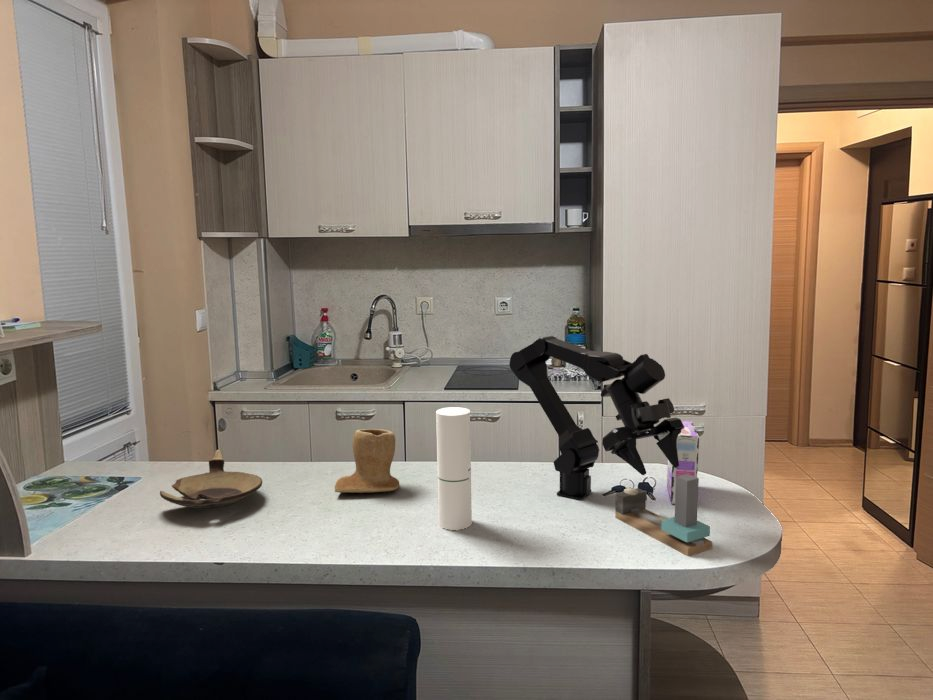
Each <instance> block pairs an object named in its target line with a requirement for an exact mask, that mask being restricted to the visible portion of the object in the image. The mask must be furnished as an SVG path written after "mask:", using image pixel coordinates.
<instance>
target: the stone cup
mask: <svg viewBox="0 0 933 700" xmlns="http://www.w3.org/2000/svg"><path fill="white" fill-rule="evenodd" d="M351 442H352V444H351V445H352V446H351V447H352V453H353V458H354V462H355V471H354V473H352V474H351V475H345V476H341V477H340V478H338V479H337V480H336V482H335V485H334V492H335V493H340V494H341V493H343V494H346V493H350V494H355V493H360V494H364V493H381V492H382V493H385V492H392V491H395V490H398V488H399V486H400V480H399V479H398V478H396V477H394V476H392V475H391V466H392V462H393V460H394V457H395V453H396V435H395V433H394V432H393V431H391V430H387V429H380V428H363V429H357V430H355V431H354V433H353V436H352V441H351Z"/></svg>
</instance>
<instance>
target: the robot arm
mask: <svg viewBox="0 0 933 700" xmlns="http://www.w3.org/2000/svg"><path fill="white" fill-rule="evenodd" d="M551 358H553V359H556V360H559V361H561V362H564V363H567V364H570V365H572V366H575V367H576V368H577V367H578V368H579V369H581V370H583V372H584V373H585V374H586V376H588V377H589V378H591V379H593V380H595V381H596V382H598V383H602V382H603V383H604V382H608V381H611V380H613V381H612V382H611V383H609V384H603V388H602V391H601V393H600V397H602V398H605V397H606V398H607V397H610V399H611V401H612V403H613V406H614V407H615V409H616V412H617V414H616V415H615V416H614V417H615V419H616V421H618V422H619V421H621V422H622V424H623V426H620V427H614V428H612V430H611V431H609V432H608V433H607V434H606V435H604V436H603V437H602V443H601V445H602V447H603V448H604V451H605V452H610V453H611V454H612V455H615V456H617V457H619V458H620V459H621V460H623V461H625V463H627V464H628V465H629V466H631V467H632V468H633V469H635V471H637V473H639V474H640V475H642V476H645V475H646V474H647V471H646V470H647V469H646V467H645V464H644V462H643V459H642V458H641V456H640V454H639V452H638V449H637V440H639V439H645V438H651V437H653V438H654V439H655V440H656V441H658V442H656V445H657V446H658V448H659V450H660V451H661V452H662V454H663V455H664V456H665V457H666V459H667V461H668V460H669V462H670V463H671V464H672V465H673V466H674V467H675V468H677V467H678V466H679V461H678V453H677V437H678V435H679V434H680V433H681V430H682V429H683V428H684V425H683V423H682V421H683V420H681V418H679V417H671V414H674V412H675V406H674V404H673V402H672V401H671V399H670V398H669V397H668V398H663V399H658V401H657V404H650V403H649V402H648V401H643V399H642V398H641V396H640V394H642V395H645V394H646V393H648V392H649V391H650V390H652V389H653V388H654V387H655V386H657V385H658V384H660V383H661V382H662V381H664V379H665V378H666V373H665V369H664V368H663V366H662V364H660V363H659V362H658V361H657V360H655V359H654V358H652V357H651V358H650V356H649V354H647V353H644V354H643V353H642V354H640V355H639V356H638V357H637V358H636V360H634V361H633V362H631V361H628V360H626V359H624V357H623V356H622V355H621V354H620V353H617V352H611V351H610V352H609V351H597V350H590V349H587V348H584V347H581V346H580V345H576V344H573V343H570V342H568V341H565V340H562V339H558V338H557V337H555V336H554V335H549V336H543V337H539V338H537V339H536V340H534V342H532V343H531V344H529V345H527V346H525V347H524V348H522V349H520V350H519V351H515V352H513V353H512V354H511V356H510V359H509V364H508V365H509V368H510V370H511V372H512V374H514V375H515V376H516V378H517V379H518V380H519V381H520V382H521V383H523V384H525V385H526V386H527V387H529V388H530V389H531V392H532V393H533V395H534V397H535V398H536V399H537V401H538V403H539V405H540V407H541V409H542V410H543V412H544V413H545V415H546V417H547V418H548V420H549V421H550V424H551V425H552V427H553V429H554V431H555V432H556V434H557V437H558V449H559V451H560V453H561V454H560V455H558V457H557V458H556V459H555V460H554V461H553V467H554V470H555V471H556V472H559V490H558V491H557V492H556V496H561V497H566V498H571V499H575V500H583V499H585V498H586V497H587V496H588V495H589V494H591V493H592V489H591V488H592V485H591V484H592V476H591V475H590V468H593V467H594V465H595V463H596V461H598V458H599V454H600V448H599V445H598V444H597V443H598V442H599V441H598V440H597V439H596V438H595V437H594V435H593V432H592V430H591V429H590V428H589V427H585V428H581V427H579V426H578V425H577V424H576V422H575V420H574V419H573V417H572V416H571V413H570V412H569V410H568V409H567V407H566V405H565V404H564V402H563V400H562V399H561V397H560V396H559V394H558V393H557V390H556V389H555V388H554V386H553V384H552V382H551V381H550V379H549V377H548V365H547V362H548V361H549V360H550V359H551ZM621 377H622V378H621ZM661 419H663V420H662V421H660V420H661ZM655 425H656V426H655Z"/></svg>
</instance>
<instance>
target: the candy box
mask: <svg viewBox="0 0 933 700" xmlns="http://www.w3.org/2000/svg"><path fill="white" fill-rule="evenodd" d="M681 421H682V423H683V425H684V428H683V429H682V430H681V433H680V434H679V435H678V437H677V453H678V461H679V466H678V467H677V468H675V467H674V466H673V465H672V464H671V463H670V462H669V460H668V459H667V469H666V471H667V472H666V487H667V491H668V496H669V500H670V504H671V505H673V504H674V505H675V493H676V476H680V475H685V474H689V475H692V476H694V477H697V478H698V471H699V470H698V469H699V451H700V450H699V446H700V435H699V434H698V432H697V429H696V427H695V424H694V423H693V421H689V420H688V421H685V420H681Z"/></svg>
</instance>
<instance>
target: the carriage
mask: <svg viewBox="0 0 933 700" xmlns="http://www.w3.org/2000/svg"><path fill="white" fill-rule="evenodd" d="M699 479H700V478H699V477H698V476H697V477H694V476H692V475H689V474H685V475H680V476H676V493H675V504H674V516H671V517H669V518H665V519H664V520H662V526H661V530H663V531H665V532H667V533H669V534H671V535H673V536H675V537H677V538H679V539H681V540H683V541H685V542H691V541H694V540H698V539H701V538H708V537H710V536H711V535H710V534H711V527H710V525H708V524H706V523H703V522H702V521H700V520H698V509H699V508H698V504H699V482H700V481H699Z"/></svg>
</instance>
